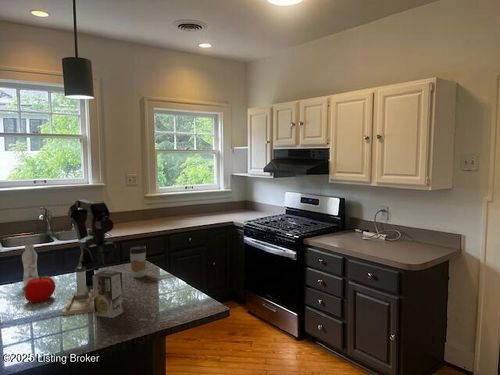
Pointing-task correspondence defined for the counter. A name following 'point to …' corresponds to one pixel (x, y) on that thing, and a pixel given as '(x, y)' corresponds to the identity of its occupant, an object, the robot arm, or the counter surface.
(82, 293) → the fader knob
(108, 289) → the coffee box
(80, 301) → the fader track
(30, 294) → the tomato
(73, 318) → the counter surface
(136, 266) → the coffee cup
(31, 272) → the plastic bottle
